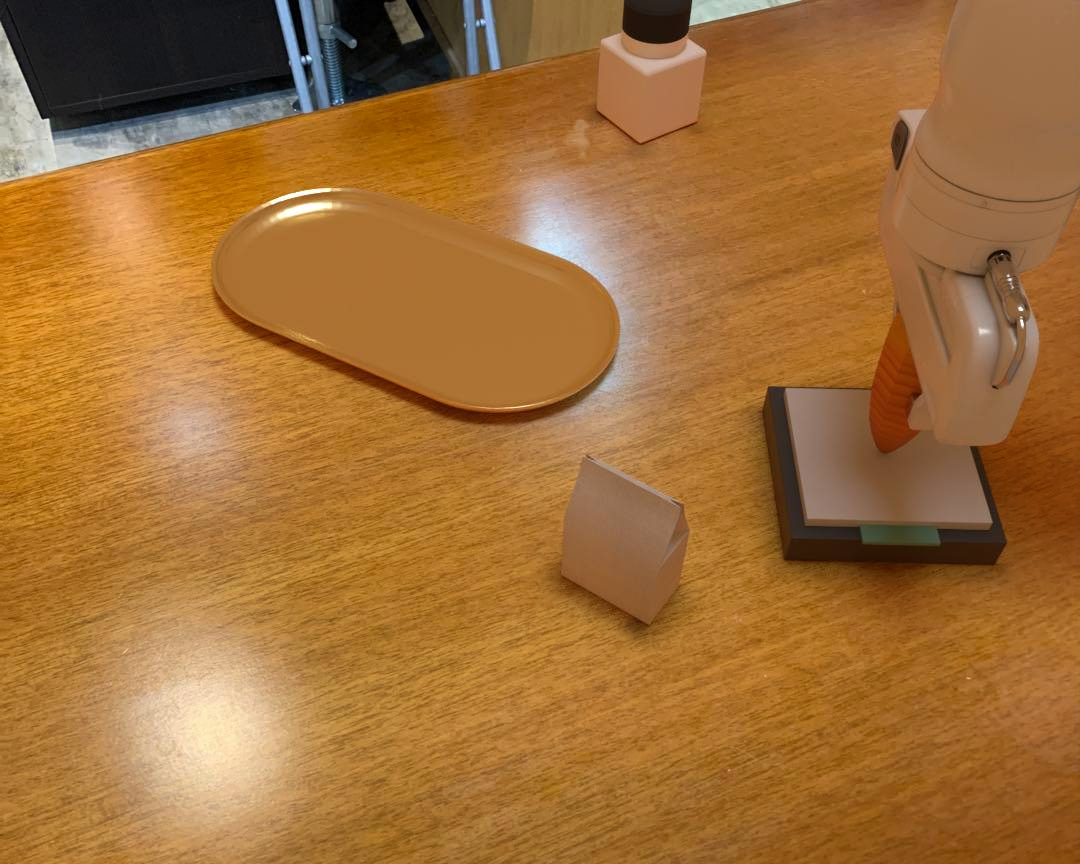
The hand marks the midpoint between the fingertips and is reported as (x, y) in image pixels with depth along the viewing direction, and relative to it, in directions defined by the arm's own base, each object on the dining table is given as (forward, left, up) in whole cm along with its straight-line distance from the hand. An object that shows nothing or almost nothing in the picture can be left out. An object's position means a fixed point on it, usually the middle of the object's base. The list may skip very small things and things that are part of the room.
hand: (909, 386), depth 69 cm
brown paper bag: (+18, +9, -10) cm, 22 cm away
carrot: (0, 0, -6) cm, 6 cm away
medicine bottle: (+14, -46, -10) cm, 49 cm away
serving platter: (+34, -18, -10) cm, 40 cm away
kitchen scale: (0, 0, -9) cm, 9 cm away
